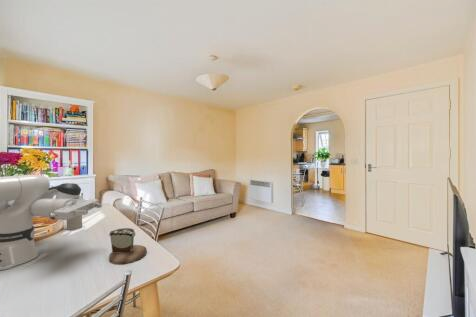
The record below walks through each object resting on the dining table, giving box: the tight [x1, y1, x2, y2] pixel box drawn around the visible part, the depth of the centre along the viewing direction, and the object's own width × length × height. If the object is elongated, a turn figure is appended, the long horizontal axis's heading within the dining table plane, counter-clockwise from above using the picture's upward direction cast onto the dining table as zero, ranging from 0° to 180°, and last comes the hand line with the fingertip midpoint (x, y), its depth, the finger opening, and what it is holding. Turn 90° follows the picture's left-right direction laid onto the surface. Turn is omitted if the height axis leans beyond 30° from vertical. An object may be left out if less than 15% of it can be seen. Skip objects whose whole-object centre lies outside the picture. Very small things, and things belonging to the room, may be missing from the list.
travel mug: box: [66, 215, 83, 231], centre depth 142 cm, size 8×8×18 cm
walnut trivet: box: [108, 244, 148, 265], centre depth 104 cm, size 16×16×2 cm
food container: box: [108, 227, 136, 254], centre depth 106 cm, size 12×6×10 cm, turn 84°
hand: (94, 208), depth 103 cm, fingers open, 8 cm apart
